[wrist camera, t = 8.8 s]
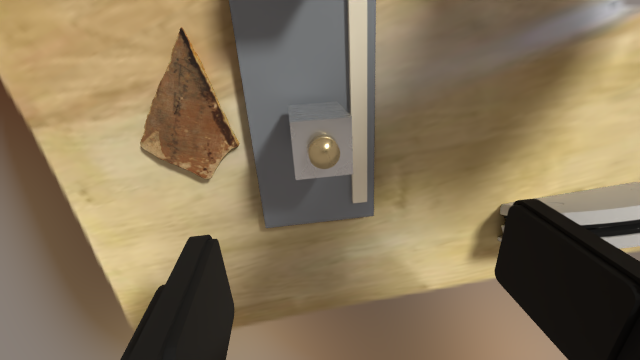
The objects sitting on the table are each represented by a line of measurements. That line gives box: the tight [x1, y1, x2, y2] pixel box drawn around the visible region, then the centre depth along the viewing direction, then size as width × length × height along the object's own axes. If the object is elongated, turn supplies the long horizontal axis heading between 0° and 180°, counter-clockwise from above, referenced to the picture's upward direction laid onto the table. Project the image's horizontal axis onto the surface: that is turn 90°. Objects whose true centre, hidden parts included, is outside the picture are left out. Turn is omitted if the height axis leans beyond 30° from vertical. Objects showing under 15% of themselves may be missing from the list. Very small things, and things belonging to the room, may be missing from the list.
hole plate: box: [229, 0, 376, 228], centre depth 25 cm, size 28×11×2 cm, turn 4°
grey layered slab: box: [498, 182, 640, 248], centre depth 31 cm, size 17×5×10 cm, turn 97°
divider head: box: [288, 101, 353, 180], centre depth 23 cm, size 4×4×8 cm
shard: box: [140, 28, 240, 179], centre depth 26 cm, size 11×8×2 cm
